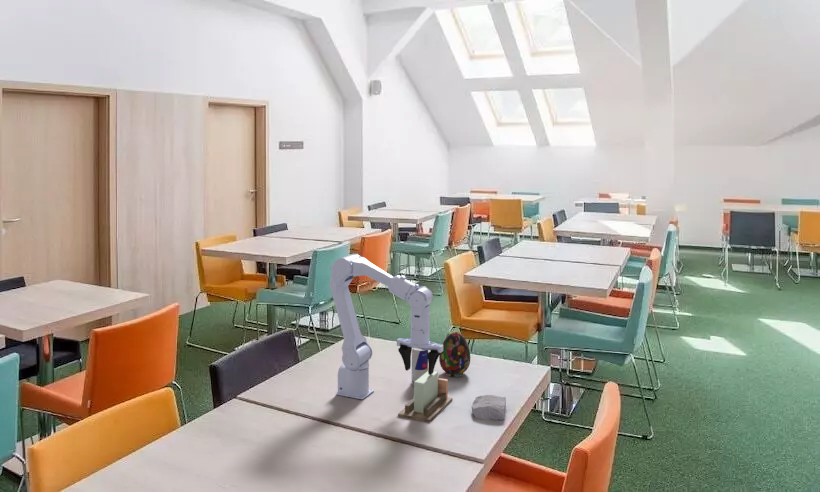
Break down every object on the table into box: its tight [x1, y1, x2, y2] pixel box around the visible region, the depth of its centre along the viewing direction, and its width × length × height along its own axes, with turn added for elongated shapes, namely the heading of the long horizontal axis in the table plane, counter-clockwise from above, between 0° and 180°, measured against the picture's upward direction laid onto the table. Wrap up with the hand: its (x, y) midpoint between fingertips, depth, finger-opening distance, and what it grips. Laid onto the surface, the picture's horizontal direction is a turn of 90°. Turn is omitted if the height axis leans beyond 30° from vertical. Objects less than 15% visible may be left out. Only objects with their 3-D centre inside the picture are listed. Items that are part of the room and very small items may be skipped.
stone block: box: [471, 394, 507, 421], centre depth 192 cm, size 12×5×10 cm
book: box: [413, 370, 439, 413], centre depth 193 cm, size 3×11×9 cm, turn 156°
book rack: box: [397, 377, 453, 423], centre depth 193 cm, size 10×18×7 cm, turn 156°
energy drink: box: [411, 348, 429, 385], centre depth 213 cm, size 5×5×12 cm
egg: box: [438, 330, 471, 378], centre depth 222 cm, size 11×11×15 cm
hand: (419, 371), depth 195 cm, fingers open, 7 cm apart
